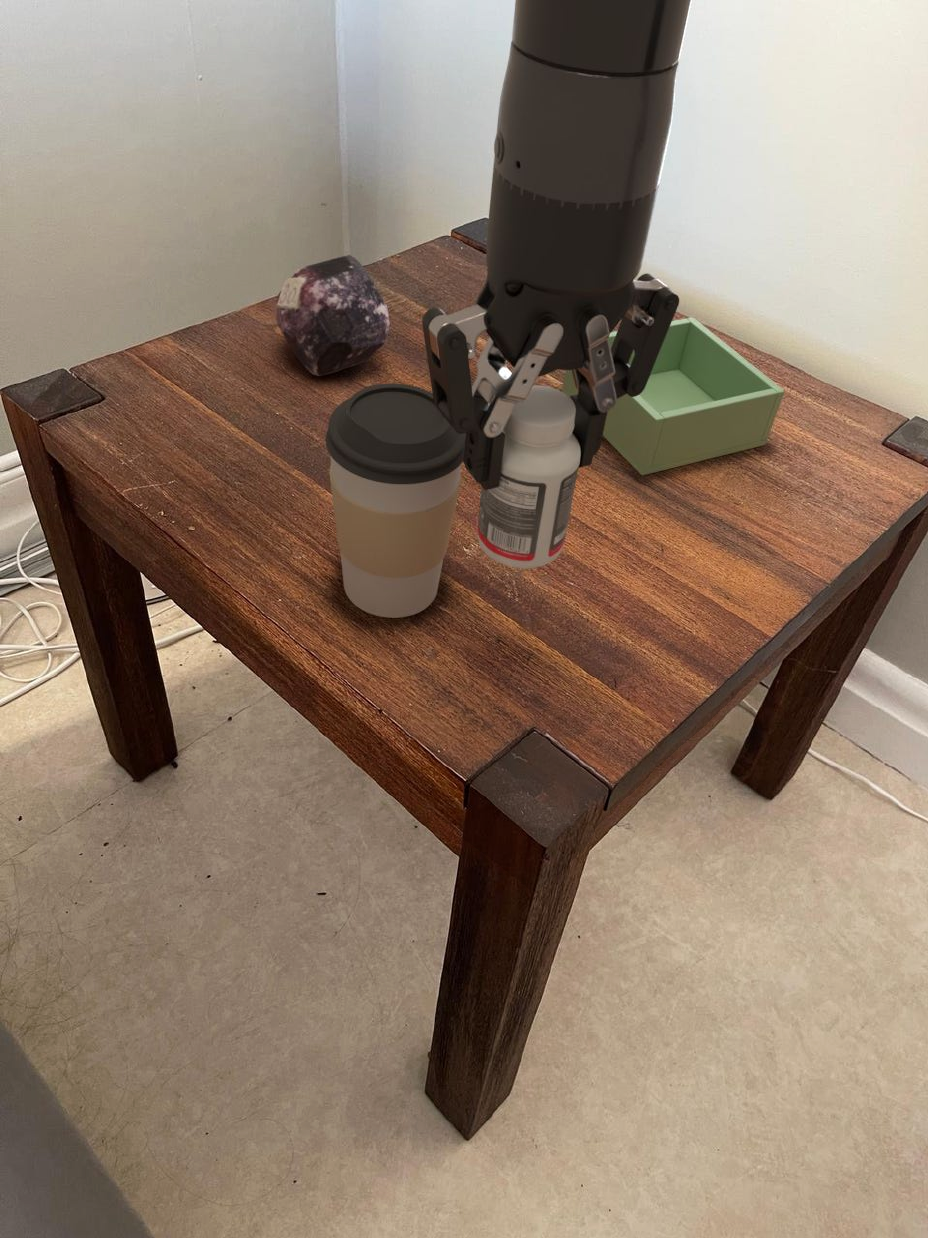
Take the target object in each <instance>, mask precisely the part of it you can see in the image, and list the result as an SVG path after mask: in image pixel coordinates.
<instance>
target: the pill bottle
mask: <svg viewBox="0 0 928 1238" xmlns="http://www.w3.org/2000/svg"><path fill="white" fill-rule="evenodd" d="M575 413H576V408H575V404H574V402H573V401H572V399H571V398H570V397H569V396H567V395H566V394H564V393H563V392H562V390H559V389H557V388H554V387H551V386H546V385H537V384H534V385H533V387H532V389H531V391H530V393H529V395H528V397H527V398H526V400H525V401H523V402H518V403H517V404H516V406H515V408H514V410H513V412H512V414H511V416H510V418H509V419H508V421H507V423H506V425H505V427H504V429H503V431H502V432H503V433H504V434H505V442H504V450H503V458H502V466H501V474H500V482H499V486H498V487H497V488H493V489H489V490H484V489H483V487H482V486H481V487H480V488H481V489H480V498H479V509H478V520H477V534H476V535H477V537H476V538H477V542H478V545H479V547H480V549H481V550H482V552H484V553H485V554H486V555H487V557H488V558H490V559H491V560H493V561H495V562H497V563H498V564H501V565H504V566H507V567H510V568H515V569H525V570H527V569H528V570H531V569H535V568H541V567H543V566H546V565H548V564H550V563H553V562H554V561H555V560H556V559H557V558H558V557H559V556H560V554H561V553H562V551H563V549H564V546H565V542H566V537H567V531H568V527H569V521H570V517H571V511H572V506H573V499H574V493H575V489H576V483H577V478H578V473H579V469H580V468H579V464H580V456H581V450H580V445H579V443H578V440H577V439H576V437H575V436H574V435H573V433H572V432H573V429H574V421H575Z"/></svg>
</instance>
